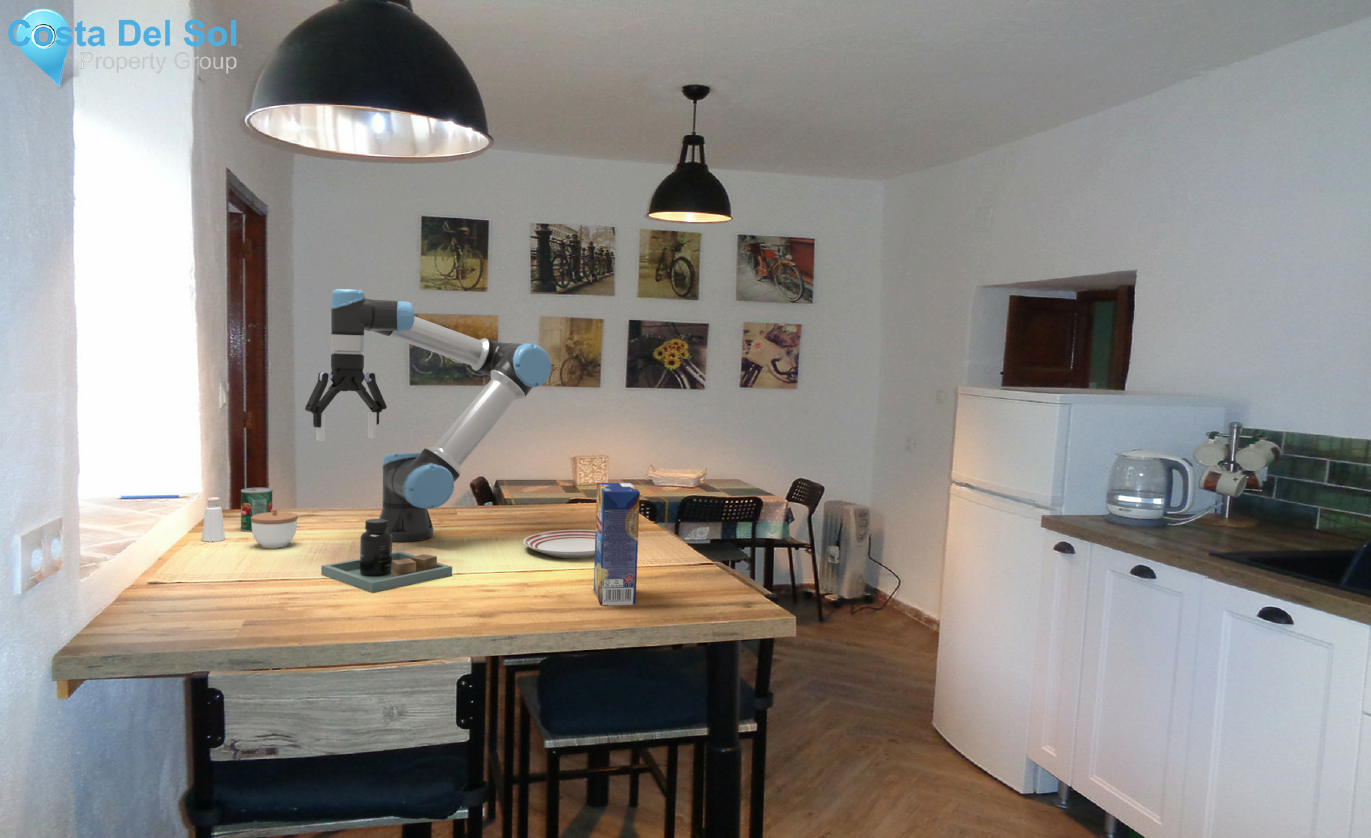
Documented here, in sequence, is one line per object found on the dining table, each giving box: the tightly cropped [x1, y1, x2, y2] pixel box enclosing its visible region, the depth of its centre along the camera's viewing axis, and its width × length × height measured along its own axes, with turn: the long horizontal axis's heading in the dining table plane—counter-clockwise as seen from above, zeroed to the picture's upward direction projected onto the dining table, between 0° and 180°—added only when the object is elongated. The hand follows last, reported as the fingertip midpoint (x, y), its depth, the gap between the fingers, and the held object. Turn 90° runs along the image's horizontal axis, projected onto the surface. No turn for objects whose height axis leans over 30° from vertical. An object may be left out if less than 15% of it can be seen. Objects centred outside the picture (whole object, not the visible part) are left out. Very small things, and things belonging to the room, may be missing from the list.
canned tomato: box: [240, 487, 273, 533], centre depth 237 cm, size 8×8×11 cm
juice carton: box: [593, 482, 641, 606], centre depth 184 cm, size 12×8×24 cm, turn 13°
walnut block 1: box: [392, 558, 416, 577], centre depth 189 cm, size 4×4×4 cm
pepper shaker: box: [201, 496, 226, 543], centre depth 222 cm, size 5×5×11 cm
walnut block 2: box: [411, 553, 438, 572], centre depth 193 cm, size 4×4×4 cm
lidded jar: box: [251, 508, 299, 549], centre depth 219 cm, size 11×11×9 cm
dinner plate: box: [522, 529, 596, 559], centre depth 227 cm, size 27×27×3 cm
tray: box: [320, 550, 453, 594], centre depth 192 cm, size 20×20×3 cm
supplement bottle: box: [359, 518, 393, 576], centre depth 193 cm, size 7×7×12 cm
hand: (347, 439), depth 211 cm, fingers open, 13 cm apart
